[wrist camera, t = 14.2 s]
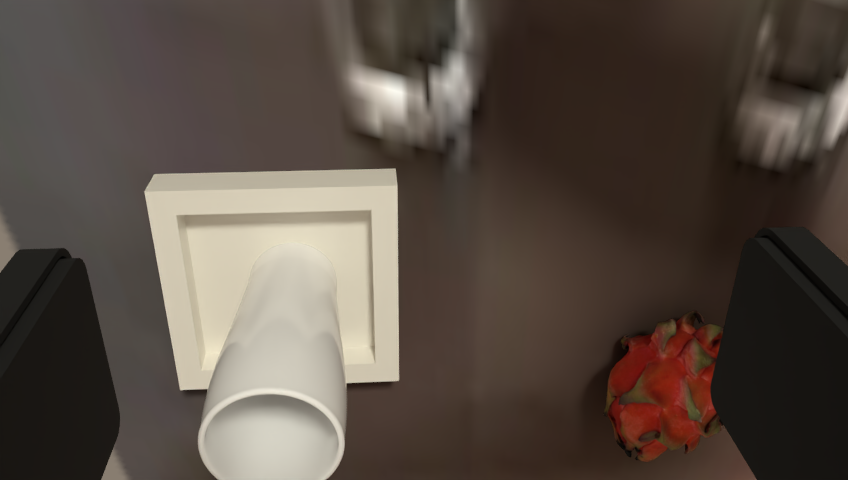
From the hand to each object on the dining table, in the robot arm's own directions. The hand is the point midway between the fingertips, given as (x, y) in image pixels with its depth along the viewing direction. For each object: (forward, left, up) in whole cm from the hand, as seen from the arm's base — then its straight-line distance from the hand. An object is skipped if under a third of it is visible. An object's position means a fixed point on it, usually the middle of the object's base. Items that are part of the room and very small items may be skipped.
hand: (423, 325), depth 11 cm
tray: (+6, +19, -33) cm, 39 cm away
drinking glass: (+5, +19, -33) cm, 38 cm away
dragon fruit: (-19, +27, -34) cm, 47 cm away
